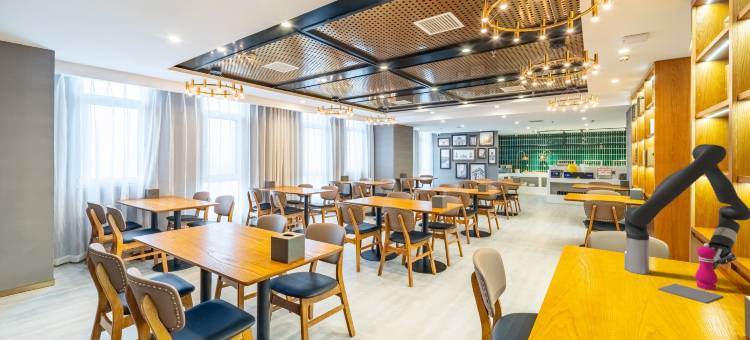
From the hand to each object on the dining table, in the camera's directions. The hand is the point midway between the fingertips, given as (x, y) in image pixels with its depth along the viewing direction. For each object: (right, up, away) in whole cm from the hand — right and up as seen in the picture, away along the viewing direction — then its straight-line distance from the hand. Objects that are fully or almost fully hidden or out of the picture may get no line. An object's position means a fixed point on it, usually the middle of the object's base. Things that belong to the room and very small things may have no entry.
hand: (710, 269), depth 149 cm
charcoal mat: (-17, -8, -8) cm, 20 cm away
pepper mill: (-3, -8, -2) cm, 9 cm away
